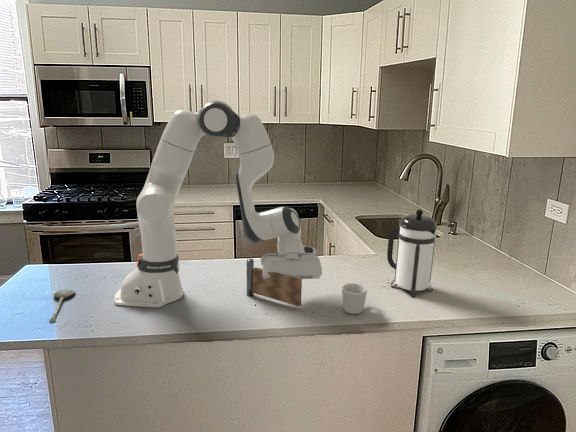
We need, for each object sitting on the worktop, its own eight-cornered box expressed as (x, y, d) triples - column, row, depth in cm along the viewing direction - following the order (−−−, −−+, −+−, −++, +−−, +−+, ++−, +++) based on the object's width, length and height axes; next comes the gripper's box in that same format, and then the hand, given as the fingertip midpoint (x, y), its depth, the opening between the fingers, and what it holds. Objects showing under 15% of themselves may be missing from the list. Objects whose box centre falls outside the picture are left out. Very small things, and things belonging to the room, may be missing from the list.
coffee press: (431, 282, 166) (440, 205, 158) (433, 300, 151) (443, 216, 143) (385, 276, 170) (391, 201, 162) (382, 293, 155) (389, 212, 147)
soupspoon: (77, 293, 153) (57, 295, 151) (76, 284, 152) (55, 286, 150) (64, 321, 132) (40, 325, 130) (62, 311, 131) (38, 314, 129)
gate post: (246, 296, 150) (246, 261, 147) (246, 293, 153) (246, 258, 149) (253, 296, 151) (253, 261, 147) (253, 293, 153) (253, 258, 150)
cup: (353, 300, 150) (354, 278, 148) (374, 307, 145) (375, 285, 143) (336, 311, 142) (337, 288, 140) (357, 319, 137) (359, 295, 135)
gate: (253, 293, 150) (253, 268, 147) (255, 291, 151) (255, 267, 149) (298, 306, 141) (299, 280, 139) (301, 304, 142) (301, 279, 140)
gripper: (260, 249, 147) (262, 289, 140) (320, 248, 150) (325, 286, 143) (260, 257, 152) (261, 295, 146) (317, 255, 155) (321, 293, 148)
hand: (293, 291), depth 144 cm, fingers closed
